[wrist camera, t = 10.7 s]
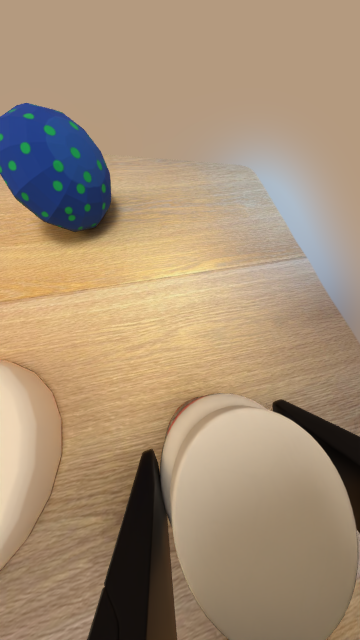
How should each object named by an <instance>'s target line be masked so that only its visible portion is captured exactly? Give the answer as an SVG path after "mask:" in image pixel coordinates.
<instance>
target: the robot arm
mask: <svg viewBox="0 0 360 640" xmlns="http://www.w3.org/2000/svg"><path fill="white" fill-rule="evenodd" d="M273 412H276V413H278V414H281V415H283V416H285V417H287V418H288V419H290V420H292V421H293V422H295V423H296V424H298V425H299V426H300V427H302V428H303V429H304V430H305V431H306V432H308V433H309V434H310V435H311V436H312V437H313V438H314V439H315V440H316V441H317V442H318V444H319V445H320V446H321V447H322V448H323V450H324V451H325V452H326V454H327V455H328V456H329V458H330V460H331V461H332V463H333V465H334V466H335V467H336V469H337V471H338V473H339V475H340V477H341V479H342V481H343V484H344V486H345V488H346V491H347V494H348V497H349V500H350V504H351V507H352V510H353V515H354V518H355V523H356V529H357V530H358V532H359V533H360V437H359V436H357V435H355V434H353V433H351V432H349V431H347V430H345V429H343V428H341V427H339V426H336V425H334V424H332V423H330V422H328V421H326V420H324V419H322V418H320V417H318V416H316V415H314V414H311V413H309V412H307V411H305V410H303V409H301V408H299V407H297V406H295V405H293V404H291V403H289V402H286V401H284V400H282V399H280V400H277V401H274V402H273ZM104 586H105V587H104V588H103V589H102V592H101V596H100V599H99V603H98V606H97V609H96V613H95V616H94V619H93V622H92V626H91V629H90V632H89V635H88V639H87V640H177V632H176V620H175V608H174V596H173V583H172V571H171V559H170V547H169V535H168V523H167V513H166V509H165V505H164V501H163V496H162V490H161V482H160V471H159V466H158V462H157V459H156V456H155V453H154V451H153V449H149V450H146V451H144V452H143V453H142V456H141V459H140V463H139V466H138V470H137V473H136V476H135V480H134V483H133V487H132V490H131V494H130V497H129V500H128V504H127V507H126V511H125V514H124V517H123V521H122V524H121V528H120V531H119V535H118V538H117V541H116V545H115V548H114V552H113V555H112V559H111V562H110V565H109V569H108V572H107V576H106V579H105V582H104Z"/></svg>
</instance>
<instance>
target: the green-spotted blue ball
mask: <svg viewBox="0 0 360 640" xmlns="http://www.w3.org/2000/svg"><path fill="white" fill-rule="evenodd" d="M0 174H1V176H2V178H3V179H4V181H5V182H6V184H7V186H8V187H9V189H10V191H11V192H12V194H13V195H14V197H15V198H16V199H17V200H18V201H19V202H20V203H22V204H23V205H24V206H25V207H26V208H28V209H29V210H30V211H31V212H33V213H34V214H35V215H36V216H38V217H39V218H40V219H41V220H43V221H44V222H47V223H50V224H53V225H56V226H59V227H62V228H65V229H68V230H71V231H74V232H77V231H81V230H86V229H90V228H95V227H96V226H97V225H98V224H99V222H100V221H101V219H102V218H103V216H104V215H105V213H106V212H107V210H108V209H109V206H110V203H111V182H110V173H109V170H108V168H107V166H106V163H105V161H104V158H103V156H102V153H101V151H100V150H99V149H98V147H97V146H96V145H95V143H94V142H93V141H92V139H91V138H90V137H89V135H88V134H87V133H86V132H85V130H84V129H83V128H81V127H80V126H79V125H77V124H76V123H75V122H74V121H72V120H71V119H70V118H69V117H67V116H66V115H65V114H63V113H62V112H59V111H56V110H53V109H49V108H45V107H41V106H37V105H33V104H29V103H24V104H20V105H17V106H15V107H14V108H12V109H11V110H9V111H8V112H7V113H5V114H4V115H2V116H1V117H0Z"/></svg>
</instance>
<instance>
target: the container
mask: <svg viewBox="0 0 360 640" xmlns="http://www.w3.org/2000/svg"><path fill="white" fill-rule="evenodd" d="M61 454H62V439H61V417H60V414H59V411H58V408H57V405H56V402H55V399H54V396H53V393H52V391H51V390H50V389H49V388H48V387H47V386H46V385H45V383H44V382H43V381H42V380H41V379H40V378H39V377H38V375H37V374H36V373H34V372H32V371H30V370H28V369H26V368H23V367H21V366H19V365H17V364H15V363H13V362H9V361H4V360H0V570H1V569H2V568H3V567H4V566H5V564H6V563H7V562H8V561H9V560H10V559H11V557H12V556H13V555H14V554H15V553H16V551H17V550H18V549H19V548H20V547H21V546H22V544H23V543H24V542H25V541H26V540H27V538H28V536H29V534H30V533H31V531H32V529H33V527H34V525H35V523H36V521H37V519H38V517H39V516H40V514H41V512H42V510H43V508H44V506H45V504H46V502H47V501H48V499H49V497H50V495H51V491H52V488H53V484H54V480H55V476H56V473H57V469H58V465H59V462H60V458H61Z"/></svg>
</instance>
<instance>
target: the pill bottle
mask: <svg viewBox="0 0 360 640" xmlns="http://www.w3.org/2000/svg"><path fill="white" fill-rule="evenodd" d="M160 482H161V490H162V496H163V501H164V505H165V509H166V513H167V516H168V518H169V521H170V523H171V525H172V528H173V536H174V541H175V547H176V552H177V556H178V559H179V562H180V565H181V569H182V572H183V574H184V577H185V579H186V581H187V584H188V586H189V588H190V590H191V592H192V594H193V596H194V598H195V599H196V601H197V603H198V604H199V606H200V608H201V609H202V611H203V612H204V613H205V615H206V616H207V617H208V619H209V620H210V621H211V622H212V623H213V624H214V625H215V626H216V628H217V629H218V630H219V631H220V632H221V633H222V634H223V635H225V636H226V637H227V638H228V639H229V640H326V639H327V638H328V637H329V636H330V635H331V634H332V632H333V631H334V630H335V629H336V627H337V626H338V624H339V623H340V621H341V620H342V618H343V617H344V615H345V612H346V610H347V608H348V605H349V603H350V600H351V598H352V594H353V591H354V587H355V583H356V575H357V568H358V539H357V529H356V523H355V518H354V515H353V510H352V507H351V504H350V500H349V497H348V494H347V491H346V488H345V486H344V484H343V481H342V479H341V477H340V475H339V473H338V471H337V469H336V467H335V466H334V465H333V463H332V461H331V460H330V458H329V456H328V455H327V454H326V452H325V451H324V450H323V448H322V447H321V446H320V445H319V444H318V442H317V441H316V440H315V439H314V438H313V437H312V436H311V435H310V434H309V433H308V432H306V431H305V430H304V429H303V428H302V427H300V426H299V425H298V424H296V423H295V422H293V421H292V420H290V419H288V418H287V417H285V416H283V415H281V414H278V413H276V412H273V411H270V410H268V409H266V408H265V407H264V406H262V405H261V404H259V403H257V402H255V401H254V400H252V399H249V398H247V397H244V396H240V395H236V394H228V393H217V394H211V395H206V396H201V397H196V398H193V399H191V400H189V401H187V402H185V403H184V404H183V405H181V406H180V407H179V408H178V409H177V410H176V412H175V413H174V415H173V417H172V418H171V420H170V423H169V425H168V428H167V433H166V437H165V442H164V446H163V450H162V456H161V465H160Z"/></svg>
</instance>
